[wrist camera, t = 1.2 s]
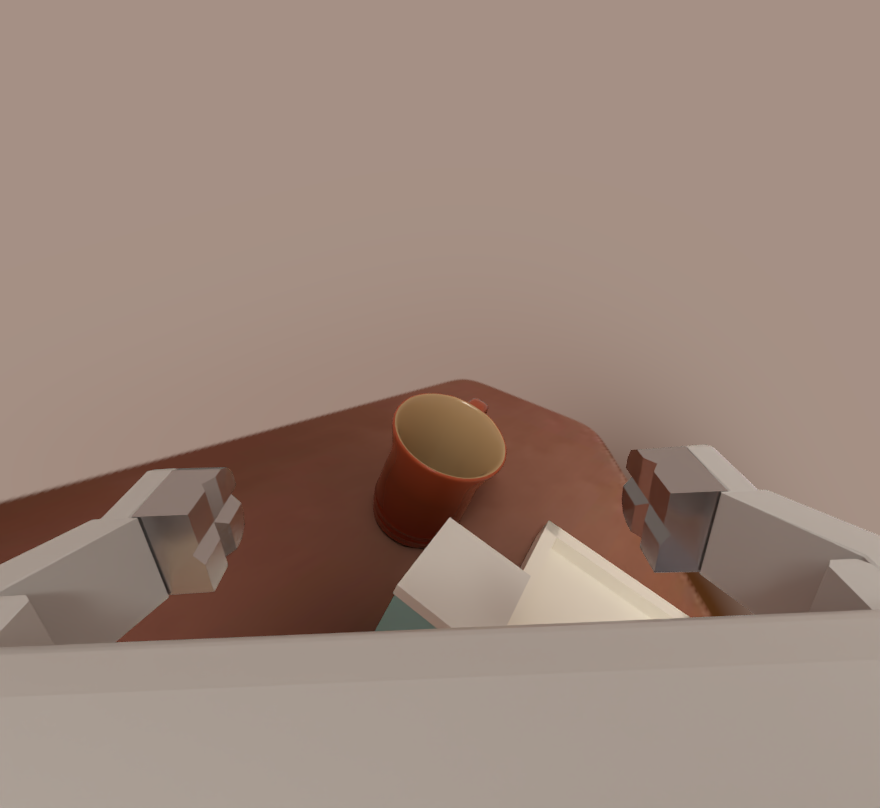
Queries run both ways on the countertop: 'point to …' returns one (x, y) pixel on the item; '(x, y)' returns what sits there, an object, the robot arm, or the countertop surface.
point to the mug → (435, 465)
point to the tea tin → (455, 585)
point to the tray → (581, 586)
